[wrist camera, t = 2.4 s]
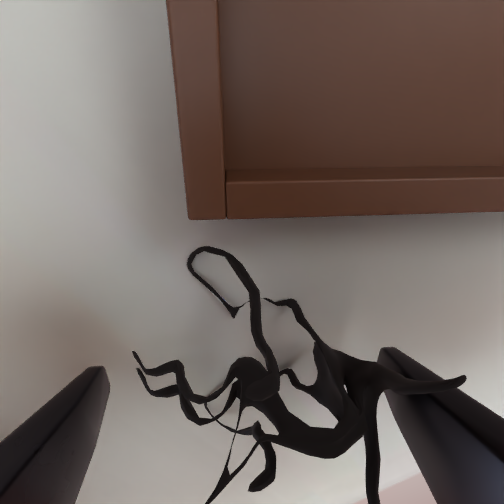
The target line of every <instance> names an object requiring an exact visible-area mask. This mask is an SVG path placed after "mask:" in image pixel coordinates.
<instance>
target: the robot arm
mask: <svg viewBox="0 0 504 504" xmlns="http://www.w3.org/2000/svg"><path fill="white" fill-rule="evenodd" d="M377 363H379V364H381V365H383V366H385V367H387V368H389V369H391V370H393V371H395V372H397V373H399V374H401V375H403V376H404V377H405V378H408V379H413V380H417V381H441V380H444V379H443V378H441V377H439V376H438V375H436V374H435V373H433V372H432V371H430V370H429V369H427V368H426V367H424V366H423V365H421V364H420V363H418V362H417V361H415V360H414V359H412V358H411V357H409V356H407V355H406V354H404V353H403V352H401V351H400V350H398V349H397V348H395V347H383V348H381V349H380V352H379V356H378V359H377ZM109 393H110V383H109V379H108V376H107V373H106V370H105V368H104V367H103V366H92V367H89V368H87V369H86V370H85V371H83V372H82V373H81V374H80V375H79V376H77V377H76V378H75V379H74V380H73V381H72V382H70V383H69V384H68V385H67V386H66V387H65V388H63V389H62V390H61V391H60V392H59V393H58V394H56V395H55V396H54V397H53V398H52V399H51V400H49V401H48V402H47V403H46V404H45V405H44V406H42V407H41V408H40V409H39V410H38V411H37V412H35V413H34V414H33V415H32V416H31V417H30V418H28V419H27V420H26V421H25V422H24V423H23V424H21V425H20V426H19V427H18V428H17V429H16V430H14V431H13V432H12V433H11V434H10V435H9V436H7V437H6V438H5V439H4V440H3V441H2V442H0V504H75V501H76V499H77V496H78V493H79V491H80V488H81V485H82V482H83V480H84V477H85V474H86V472H87V469H88V466H89V463H90V461H91V458H92V455H93V452H94V449H95V446H96V443H97V439H98V436H99V432H100V428H101V424H102V420H103V416H104V413H105V409H106V405H107V401H108V397H109ZM384 393H385V395H386V398H387V400H388V403H389V405H390V408H391V411H392V413H393V416H394V418H395V420H396V422H397V424H398V427H399V429H400V431H401V433H402V435H403V437H404V439H405V441H406V443H407V445H408V447H409V449H410V450H411V452H412V454H413V456H414V458H415V460H416V462H417V464H418V466H419V468H420V470H421V472H422V474H423V476H424V478H425V480H426V482H427V484H428V486H429V488H430V490H431V492H432V494H433V496H434V498H435V500H436V502H437V504H504V419H503V418H502V417H500V416H499V415H497V414H496V413H494V412H493V411H491V410H490V409H488V408H487V407H485V406H484V405H482V404H481V403H479V402H478V401H476V400H474V399H473V398H471V397H470V396H468V395H467V394H465V393H464V392H462V391H461V390H459V389H458V388H454V389H450V390H447V391H443V392H435V393H426V394H407V395H405V394H398V393H395V392H393V391H391V389H387V390H384Z"/></svg>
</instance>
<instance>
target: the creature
mask: <svg viewBox="0 0 504 504" xmlns="http://www.w3.org/2000/svg"><path fill="white" fill-rule="evenodd" d="M203 251H205V252H209V253H213V254H217V255H221V256H224V257H225V258H226V259H227V261H228V262H229V264H230V265H231V267H232V268H233V270H234V271H235V273H236V274H237V276H238V277H239V278H240V280H241V281H242V283H243V284H244V286H245V287H246V289H247V290H248V292H249V299H250V301H248V302H250V309H251V310H250V320H251V333H252V335H253V338H254V341H255V344H256V346H257V348H258V349H259V350H260V352H261V353H262V355H263V356H264V358H265V361H266V366H267V370H268V371H267V370H266V369H265V368H264V366H263V365H262V364H261V363H260V362H259V361H257V360H256V359H254V358H252V357H242V358H238V359H237V360H236V361H235V362H234V363H233V364H232V365H231V367H230V370H229V372H228V375H227V378H226V380H225V382H224V384H223V386H222V387H221V388H220V389H218V390H217V391H215V392H214V393H212V394H211V395H210V396H208V397H204V396H201V395H197V394H193V392H192V390H191V388H190V386H189V384H188V382H187V380H186V378H185V371H184V365H183V364H182V363H181V362H180V361H179V360H173V361H170V362H167V363H165V364H163V365H161V366H159V367H157V368H153V369H146V368H145V367H144V366H143V364H142V362H141V360H140V358H139V356H138V354H137V353H136V352H135V351H132V353H133V355H134V357H135V359H136V360H137V362H138V363H139V365H140V366H141V368H142V369H143V371H144V372H145V374H147V375H151V376H156V377H157V376H161V375H164V374H167V373H171V372H174V373H175V374H176V381H177V384H175V385H171V386H168V387H165V388H162V389H159V390H156V391H153V390H150V388H149V386H148V384H147V381H146V378H145V376H144V374H143V372H142V371H141V370H140V369H139V368H136V369H137V372H138V374H139V376H140V378H141V380H142V382H143V384H144V386H145V388H146V390H147V391H148V392H149V393H150V394H151V395H153V396H155V397H166V398H168V397H172V396H175V395H179V397H180V404H181V408H182V410H183V412H184V414H185V416H186V417H187V419H189V420H191V421H192V422H194V423H196V424H197V425H200V426H201V425H205V424H208V423H211V422H213V421H215V420H216V421H217V422H218V423H219V424H220V425H222V426H223V427H225V428H226V429H228V430H229V431H231V432H234V433H235V435H236V433H238V434H242V435H253V437H254V438H255V440H256V441H257V442H256V443H255V445H254V447H253V448H252V450H251V452H250V453H249V455H248V456H247V457H246V459H245V460H244V461H243V462H242V464H241V465H240V466H239V467H238V468H237V469H236V470H235V471H234V472H233V473H232V474H231V475H230V474H229V471H228V467H227V466H228V463H229V459H230V455H231V449H230V452H229V456H228V459H227V462H226V465H225V468H224V470H223V473H222V475H221V477H220V479H219V482H218V484H217V486H216V488H215V490H214V491H213V493H212V494H211V496H210V497H209V499H208V500H207V502H206V503H205V504H210V503H211V502H212V501H213V500H214V499H215V498H216V497H217V495H218V494H219V493H220V492H221V491H222V490H223V489H224V488H225V487H226V485H227V484H228V483H229V482H230V481H231V480H232V479H233V478H234V477H235V475H236V474H237V473H238V472H239V471H240V470H241V469H242V468H243V467H244V466H245V464H246V463H247V461H248V459H249V458H250V456H251V455H252V454H253V452H254V451H255V449H256V448H257V446H258V445H259V444H260V445H261V447H262V448H263V450H264V452H265V458H266V465H265V470H264V471H263V472H262V473H261V474H259V475H258V476H257V477H256V478H255V479H254V481H253V482H252V483H251V484H250V486H249V489H248V491H250V492H257V491H261V490H262V489H264V488H266V487H267V486H268V485H270V484H271V483H272V482H273V481H274V479H275V474H276V454H275V451H274V449H273V447H272V444H271V442H272V443H276V444H279V445H282V446H284V447H287V448H290V449H293V450H296V451H298V452H301V453H304V454H306V455H310V456H314V457H319V458H324V459H330V458H336V457H338V456H340V455H342V454H343V453H345V452H346V451H347V450H348V449H349V448H350V447H351V446H352V445H353V444H354V443H356V442H357V441H358V440H359V439H360V438H361V437H363V435H364V441H365V448H366V494H367V499H368V504H380V500H379V494H378V487H379V474H380V451H379V442H378V432H377V419H376V414H377V403H378V399H379V396H380V395H381V393H382V392H383V391H384V390H387V389H391V391H393V392H395V393H398V394H405V395H407V394H426V393H435V392H443V391H447V390H450V389H454V388H457V387H459V386H460V385H462V384H463V383H464V382H465V381H466V379H467V378H466V375H462V376H459V377H457V378H453V379H448V380H441V381H417V380H413V379H408V378H405V377H404V376H403V375H401V374H399V373H397V372H395V371H393V370H391V369H389V368H387V367H385V366H383V365H381V364H379V363H377V362H371V361H364V360H359V359H357V358H354V357H352V356H349V355H347V354H345V353H343V352H341V351H337V350H334V349H331V348H330V347H329V346H328V345H326V344H325V343H324V342H323V341H322V340H321V339H320V338H319V336H318V335H317V334H316V332H315V331H314V330H313V329H312V327H311V326H310V324H309V323H308V321H307V320H306V319H305V317H304V315H303V312H302V310H301V308H300V306H299V304H298V303H297V301H296V300H294V299H287V300H282V301H277V302H274V301H272V300H270V299H267V298H261V299H265V300H267V301H269V302H271V303H273V304H275V305H277V306H288V307H290V308H291V309H292V311H293V313H294V315H295V318H296V320H297V322H298V323H299V324H300V325H302V326H303V327H304V328H305V329H306V330H307V331H308V332H309V334H310V335H311V336H312V338H313V339H314V340H315V342H314V349H313V354H314V360H315V364H316V367H317V371H318V375H317V380H316V382H315V383H314V385H311V386H306V385H303V384H301V383H300V382H299V380H298V378H297V376H296V375H295V373H294V372H293V370H292V369H289V368H286V369H284V370H282V371H280V372H279V368H278V364H277V361H276V359H275V357H274V355H273V352H272V350H271V349H270V347H269V346H268V344H267V343H266V341H265V339H264V337H263V333H262V325H261V302H260V292H259V289H258V288H257V286H256V285H255V283H254V282H253V280H252V278H251V277H250V275H249V274H248V272H247V271H246V269H245V268H244V266H243V265H242V263H240V262H239V261H238V260H237V259H236V258H235V257H234V256H233V255H231V254H230V253H228V252H226V251H224V250H221V249H218V248H214V247H210V246H204V247H200V248H198V249H196V250H195V251H194V252H192V253H191V254H190V256H189V258H188V262H187V266H188V269H189V271H190V272H191V273H192V275H193V276H194V277H196V278H197V279H198V280H199V281H200V282H201V283H202V284H204V285H205V286H206V287H207V288H208V289H209V290H210V291H211V292H212V293H214V294H215V295H216V296H217V297H218V298H219V299H220V300H221V302H222V303H223V304H224V305H225V307H226V308H227V309H228V311H229V312H230V313H231V315H232V317H233V318H235V316H236V314H237V312H238V310H239V308H241V307H242V306H243V305H244V304H243V305H242V306H239V307H234V308H233V307H232V306H230V305H229V304H228V303H227V302H226V301H225V300H224V299H223V298H222V297H221V296H220V295H219V294H218V293H217V292H216V291H215V290H214V289H213V287H212V286H210V285H209V284H208V283H207V282H206V281H205V280H203V279H202V278H201V277H200V276H199V275H198V274H196V273H195V272H194V270H193V268H192V265H191V264H192V262H193V260H194V258H195V256H196V255H197V254H199V253H201V252H203ZM246 303H247V302H246ZM283 374H287V375H288V377H289V379H290V382H291V384H292V385H293V386H294V387H295V388H296V389H299V390H302V391H304V392H306V393H308V394H310V395H311V396H312V397H314V398H315V399H316V400H317V401H318V402H319V403H320V404H322V405H323V406H325V407H326V408H328V409H329V411H330V412H331V413H332V414H333V415H334V416H335V418H336V419H337V420H338V424H337V425H336V427H335V428H334V429H333V428H319V427H310V426H308V425H307V424H306V423H304V422H303V421H301V420H300V419H299V418H297V417H296V416H295V415H293V414H292V413H290V412H289V411H288V410H287V408H286V406H285V404H284V403H283V401H282V399H281V397H280V395H279V394H278V391H279V389H280V376H281V375H283ZM235 377H236V378H238V380H237V381H235V382H234V383H233V384H232V387H231V391H230V394H229V398H228V400H227V402H226V405H225V407H224V409H223V411H222V412H221V413H220V414H218V415H217V416H215V417H214V416H213V415H212V414H211V413H210V411H209V409H208V408H207V402H210V401H212V400H214V399H216V398H217V397H218V396H219V395H220V394H221V393H222V392H223V391H224V390H225V389H226V388H227V387H228V386H229V384H230V383H231V382H232V381H233V380H234V378H235ZM344 384H345V386H346V388H347V392H346V390H345V388H344ZM347 393H348V394H347ZM236 397H237V398H239V399H240V409H239V417H238V422H237V427H236V430H235V429H232V428H230V427H228V426H225V425H223V424H222V423H220V422H219V421H218V420H217V419H218V418H219V417H221V416H222V415H223V414H224V413H225V412H226V411H227V410H228V409H229V408H230V407H231V405H232V404H233V402H234V401H235V399H236ZM190 401H192V402H195V403H197V404H203V403H204V405H205V408H206V410H207V411H208V412H209V414H210V415H211V416H212V417H213V418H212V419H208V418H199V416H198V415H197V413H196V411H195V409H194V407H193V406H192V404H191V402H190ZM247 406H253V407H255V408H256V409H258V410H259V411H261V412H262V413H263V414H264V415H265V416H266V417H267V418H268V419H269V420H270V421H271V422H272V423H273V425H274V426H275V427H276V429H277V431H278V432H279V434H278V435H272V434H265V433H264V431H263V430H262V429H261V424H260V423H259V421H257V422H255V423H254V425H253V426H251V427H248V428H245V429H241V430H238V431H237V428H238V425H239V421H240V417H241V414H242V411H243V410H244V408H245V407H247ZM235 435H234V438H235ZM234 438H233V441H234ZM232 444H233V442H232ZM231 448H232V445H231Z"/></svg>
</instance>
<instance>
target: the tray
mask: <svg viewBox="0 0 504 504" xmlns="http://www.w3.org/2000/svg"><path fill="white" fill-rule="evenodd" d="M166 6H167V16H168V25H169V35H170V45H171V55H172V65H173V75H174V84H175V94H176V104H177V114H178V124H179V134H180V143H181V153H182V163H183V173H184V183H185V193H186V202H187V212H188V218H189V220H217V219H225V218H226V216H227V219H259V218H294V217H329V216H364V215H399V214H433V213H468V212H503V211H504V0H166Z"/></svg>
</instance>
